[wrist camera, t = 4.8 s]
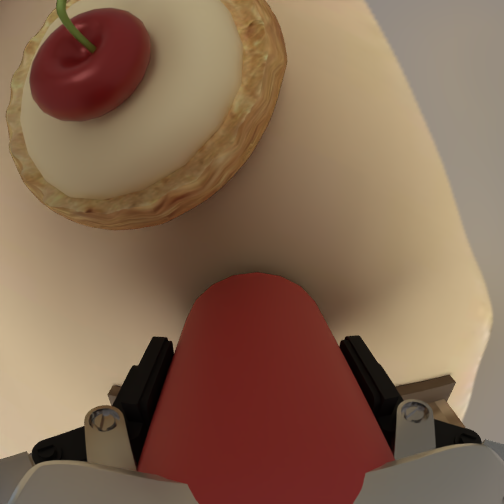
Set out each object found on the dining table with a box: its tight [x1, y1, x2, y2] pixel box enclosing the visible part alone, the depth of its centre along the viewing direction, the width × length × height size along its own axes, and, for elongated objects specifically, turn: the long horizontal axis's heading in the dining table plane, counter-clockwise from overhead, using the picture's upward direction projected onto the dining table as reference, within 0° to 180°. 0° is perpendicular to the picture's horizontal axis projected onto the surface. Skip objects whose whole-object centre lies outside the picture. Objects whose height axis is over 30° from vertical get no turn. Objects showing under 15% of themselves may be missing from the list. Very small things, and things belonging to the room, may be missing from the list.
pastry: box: [6, 0, 287, 230], centre depth 8 cm, size 12×12×9 cm
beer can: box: [137, 272, 395, 504], centre depth 8 cm, size 7×7×12 cm
